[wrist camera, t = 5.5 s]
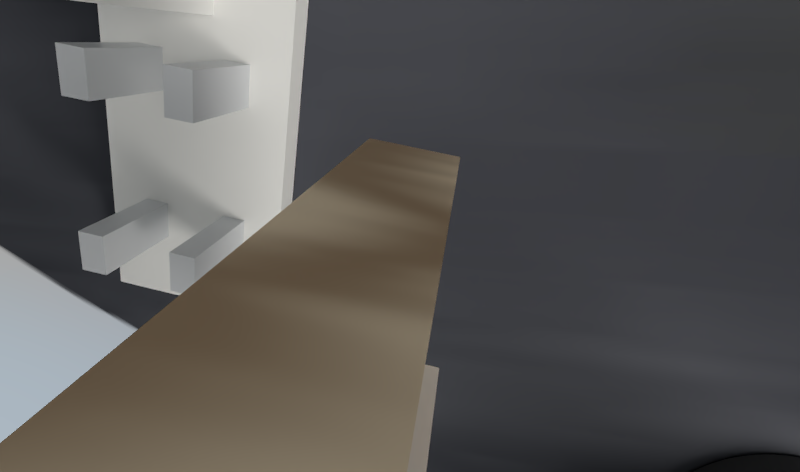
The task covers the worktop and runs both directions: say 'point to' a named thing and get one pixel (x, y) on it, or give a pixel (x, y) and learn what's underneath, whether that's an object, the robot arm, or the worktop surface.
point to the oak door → (276, 342)
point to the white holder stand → (189, 129)
